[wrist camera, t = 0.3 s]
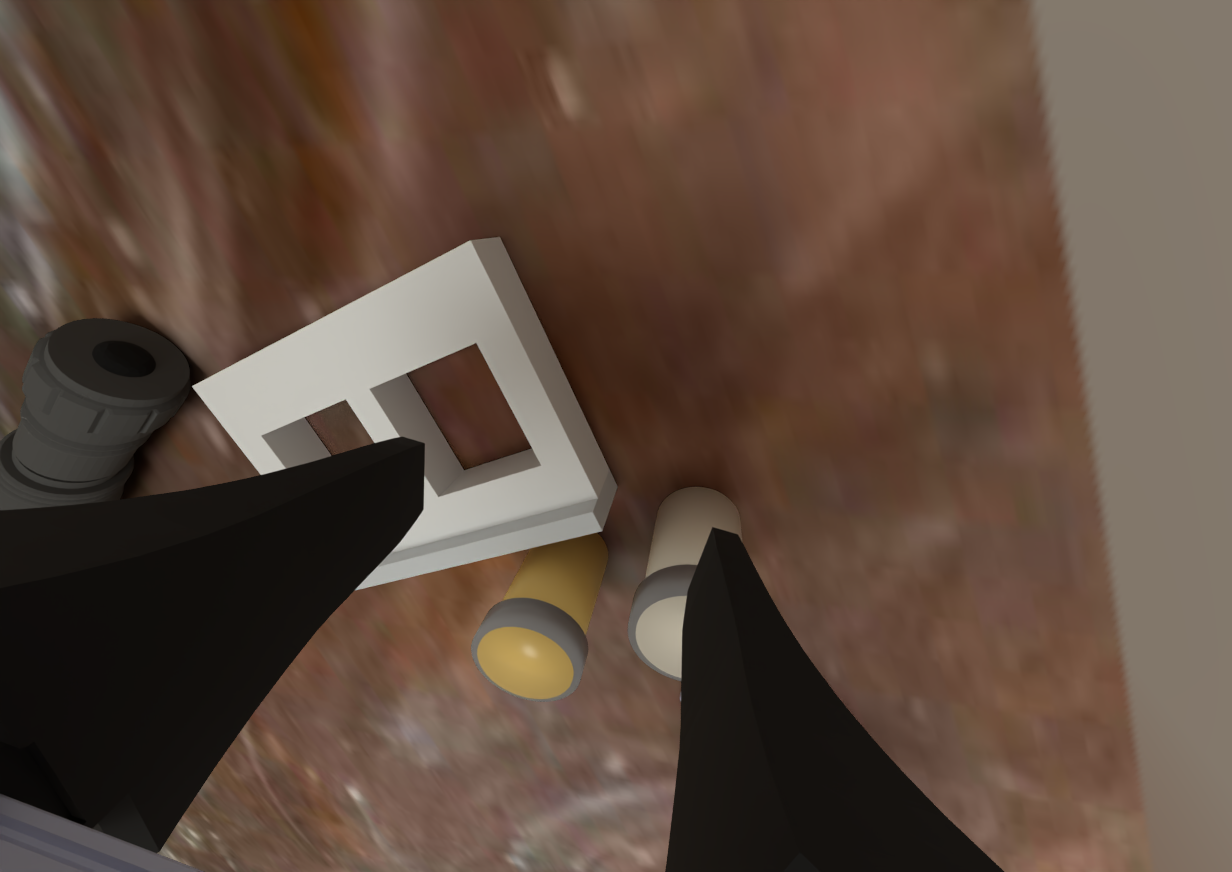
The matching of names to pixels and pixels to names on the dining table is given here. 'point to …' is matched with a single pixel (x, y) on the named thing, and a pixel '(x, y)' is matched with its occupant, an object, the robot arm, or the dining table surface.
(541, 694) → the yellow cylinder grey rim
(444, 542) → the housing
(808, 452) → the dining table surface
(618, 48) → the dining table surface
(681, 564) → the cream grey-rimmed peg
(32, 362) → the flashlight
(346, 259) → the dining table surface
